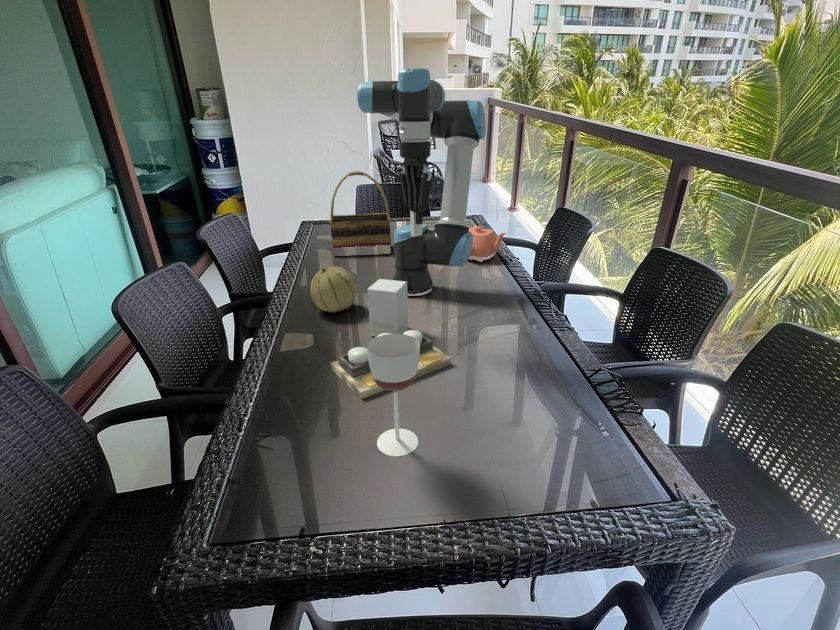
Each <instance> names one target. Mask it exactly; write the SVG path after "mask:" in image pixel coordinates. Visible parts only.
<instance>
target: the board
mask: <svg viewBox="0 0 840 630" xmlns="http://www.w3.org/2000/svg"><path fill="white" fill-rule="evenodd" d="M433 343H434V341H433V340H432V339H430V338H429V337H427V336H426V335H424V334H422V343H421V344H420V356H419V365H418V370H417V375H416V378H415V379H417V378H420V377H422V376H425V375H429V374H430V373H433V372H436V371H437V370H441V369H443V368H445V367H448V366H450V365H451V364H452V358H451V356H449V355H447V354H446V353H445V352H443V351H442V350H440V349H438V348H437V347H435V346H434V344H433ZM365 348H366V349H367V346H366V347H365ZM330 368H331V369H332V370H333V371H334V372H335V373H336V374H335V373H334V372H333V371H332V372H333V373H334V374H335V375H336V376H337V377H338V378H339V379H340V380H341V381H342V382H343V383H344V384H345V385H347V387H348V388H349V389H350V390H351V391H352V392H353V393H354V394H355V395H356V396H357V397H358V398H360V400H363V399H366V398H369V397H372V396H375V395H376V394H379V393H382V392H384V391H386V390H385V389H382V388H381V387H379V386H378V385H377V384H376V383H375V381H374V379H373V376H372V373H371V370H370V366H369V362H366V363H364V364H361V365H358V366H355V367H353V366H352V365H351V364H350V363H349V358H348V352H347V353H344V354H340V355H338V356H337V360H335V361H332V362H330Z"/></svg>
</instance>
